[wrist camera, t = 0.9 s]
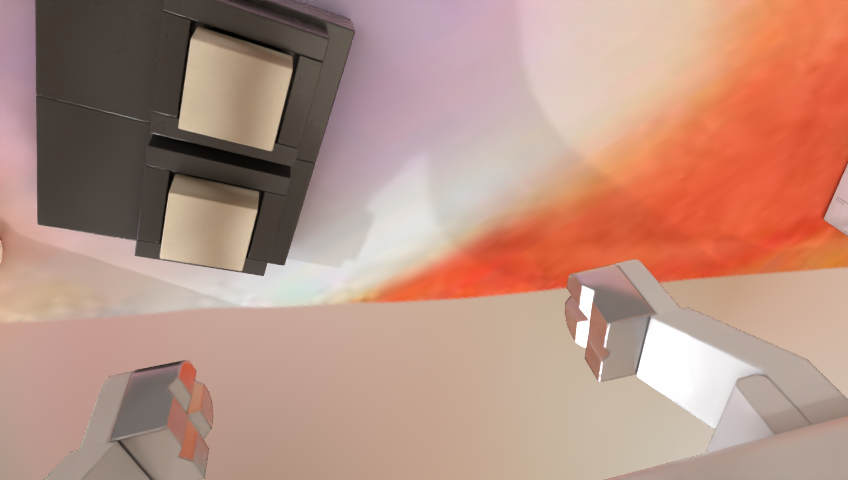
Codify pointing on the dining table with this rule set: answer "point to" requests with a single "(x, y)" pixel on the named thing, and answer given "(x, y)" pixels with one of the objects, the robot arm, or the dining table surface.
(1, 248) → the candle
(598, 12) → the dining table surface
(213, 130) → the key high
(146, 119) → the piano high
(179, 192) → the key low
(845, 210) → the coffee box
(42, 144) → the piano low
